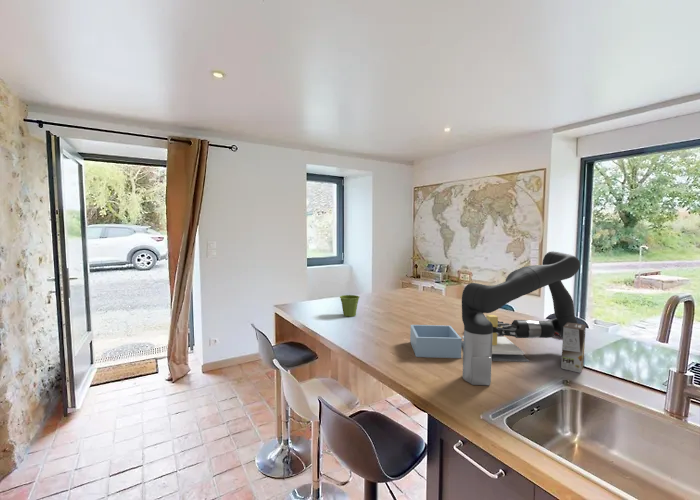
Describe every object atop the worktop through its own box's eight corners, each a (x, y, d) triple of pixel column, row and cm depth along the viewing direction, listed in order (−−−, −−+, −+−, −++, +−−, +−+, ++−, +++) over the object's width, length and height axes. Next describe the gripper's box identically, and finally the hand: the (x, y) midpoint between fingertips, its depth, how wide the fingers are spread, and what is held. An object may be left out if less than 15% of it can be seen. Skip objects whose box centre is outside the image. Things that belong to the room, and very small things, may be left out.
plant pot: (363, 314, 202) (363, 296, 201) (352, 319, 192) (352, 299, 191) (346, 312, 208) (346, 293, 207) (335, 316, 198) (335, 297, 197)
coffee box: (581, 373, 122) (583, 330, 121) (560, 368, 126) (562, 326, 125) (583, 365, 130) (586, 324, 128) (564, 361, 134) (566, 321, 132)
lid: (524, 354, 134) (525, 322, 133) (475, 353, 135) (476, 321, 134) (504, 338, 153) (505, 310, 152) (462, 338, 154) (463, 310, 153)
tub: (461, 358, 136) (461, 338, 135) (416, 356, 137) (416, 337, 136) (449, 342, 154) (450, 325, 153) (410, 341, 155) (410, 324, 154)
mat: (529, 361, 133) (529, 360, 133) (472, 360, 134) (472, 359, 134) (506, 342, 155) (506, 341, 155) (457, 341, 156) (457, 340, 156)
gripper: (518, 315, 150) (479, 315, 150) (534, 325, 135) (491, 324, 136) (518, 332, 150) (479, 331, 151) (534, 343, 136) (490, 342, 137)
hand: (485, 328), depth 144 cm, fingers closed on lid, 3 cm apart
